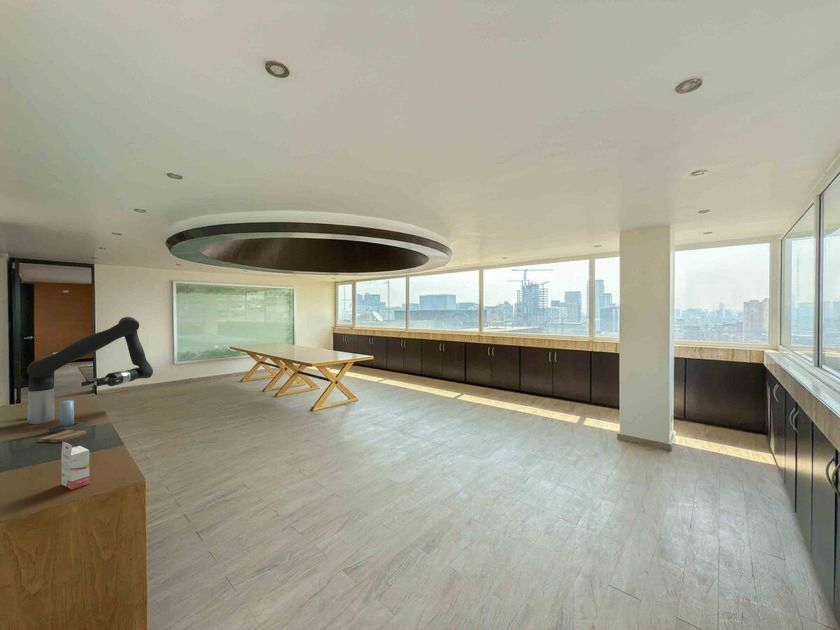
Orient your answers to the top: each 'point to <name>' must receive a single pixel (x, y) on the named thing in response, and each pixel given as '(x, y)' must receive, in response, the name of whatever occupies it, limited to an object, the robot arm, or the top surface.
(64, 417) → the canister
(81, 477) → the ink cartridge box
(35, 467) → the top surface
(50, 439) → the walnut board
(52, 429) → the square grey frame
